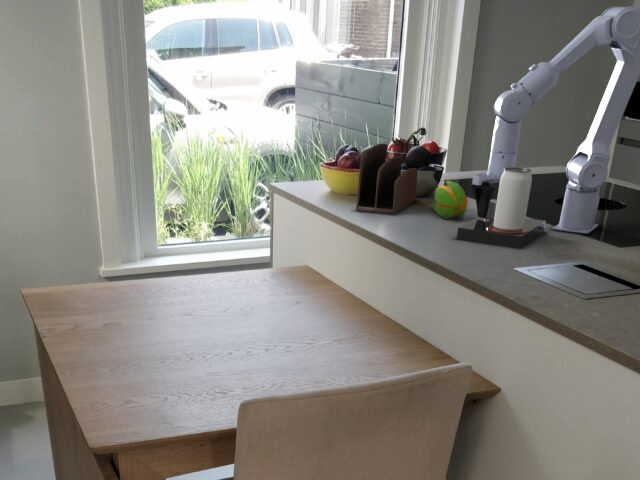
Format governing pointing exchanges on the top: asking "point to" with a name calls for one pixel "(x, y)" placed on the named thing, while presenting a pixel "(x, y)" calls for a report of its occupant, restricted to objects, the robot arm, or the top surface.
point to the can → (512, 199)
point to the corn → (450, 200)
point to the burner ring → (491, 228)
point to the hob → (481, 234)
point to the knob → (491, 209)
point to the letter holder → (384, 182)
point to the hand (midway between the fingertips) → (494, 215)
